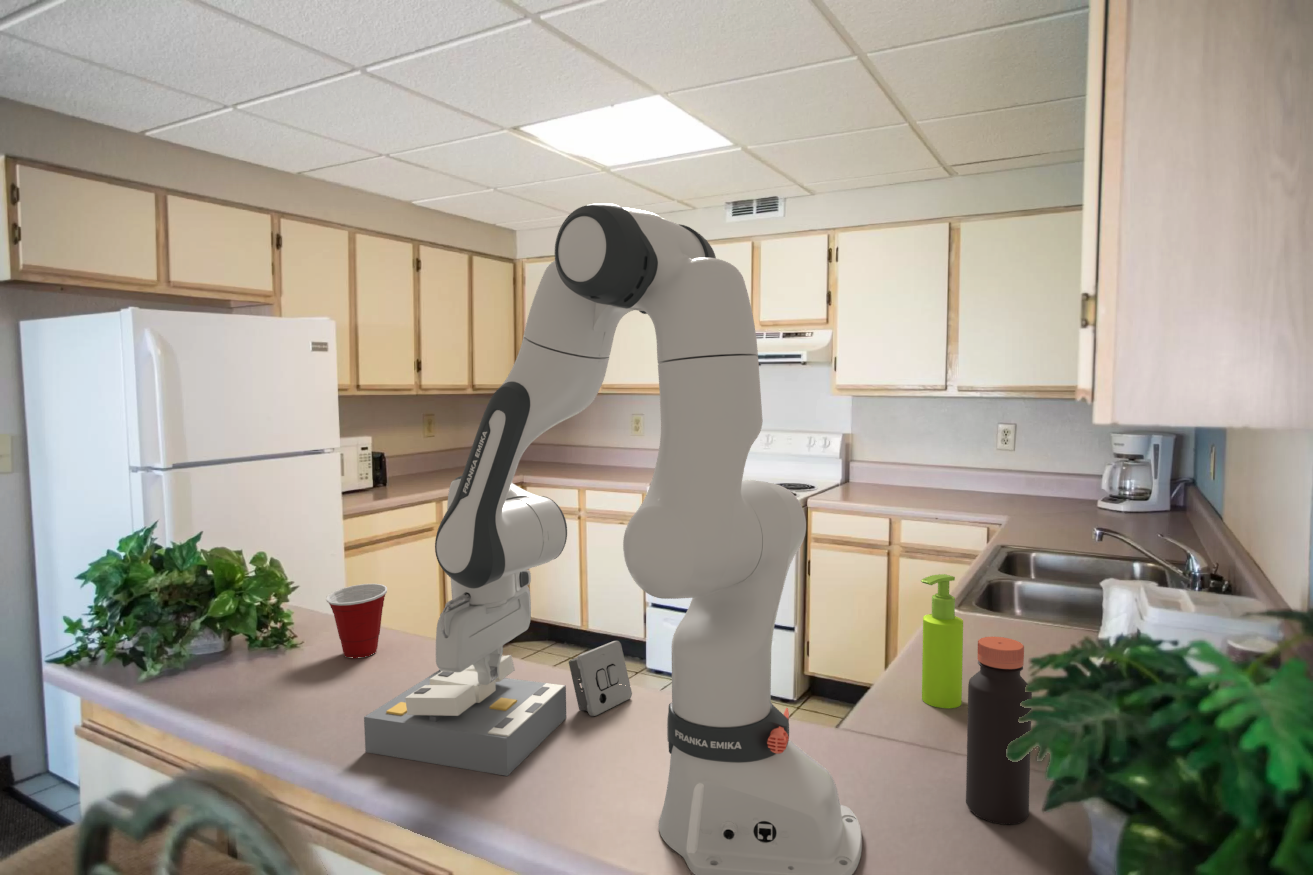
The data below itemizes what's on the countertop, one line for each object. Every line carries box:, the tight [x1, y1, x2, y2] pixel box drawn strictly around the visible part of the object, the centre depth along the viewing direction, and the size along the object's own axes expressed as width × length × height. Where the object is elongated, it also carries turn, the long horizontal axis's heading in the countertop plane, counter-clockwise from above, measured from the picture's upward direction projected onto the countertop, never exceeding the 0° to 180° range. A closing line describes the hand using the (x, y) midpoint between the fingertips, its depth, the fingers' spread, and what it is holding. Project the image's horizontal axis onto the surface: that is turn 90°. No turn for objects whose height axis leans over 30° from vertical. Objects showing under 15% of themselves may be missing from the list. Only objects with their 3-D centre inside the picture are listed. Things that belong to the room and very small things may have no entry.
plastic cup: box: [325, 583, 388, 659], centre depth 145 cm, size 11×11×12 cm
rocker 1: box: [405, 685, 476, 716], centre depth 106 cm, size 8×4×3 cm, turn 72°
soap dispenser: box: [920, 573, 964, 710], centre depth 121 cm, size 6×7×20 cm
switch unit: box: [363, 669, 567, 777], centre depth 112 cm, size 22×18×6 cm
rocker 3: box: [465, 654, 516, 682], centre depth 117 cm, size 8×4×2 cm, turn 72°
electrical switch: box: [568, 640, 633, 717], centre depth 122 cm, size 9×5×9 cm, turn 141°
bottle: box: [965, 636, 1033, 825], centre depth 90 cm, size 7×7×20 cm
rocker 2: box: [430, 670, 496, 703], centre depth 112 cm, size 8×4×2 cm, turn 72°
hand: (489, 680), depth 110 cm, fingers closed, pressing on rocker 2
